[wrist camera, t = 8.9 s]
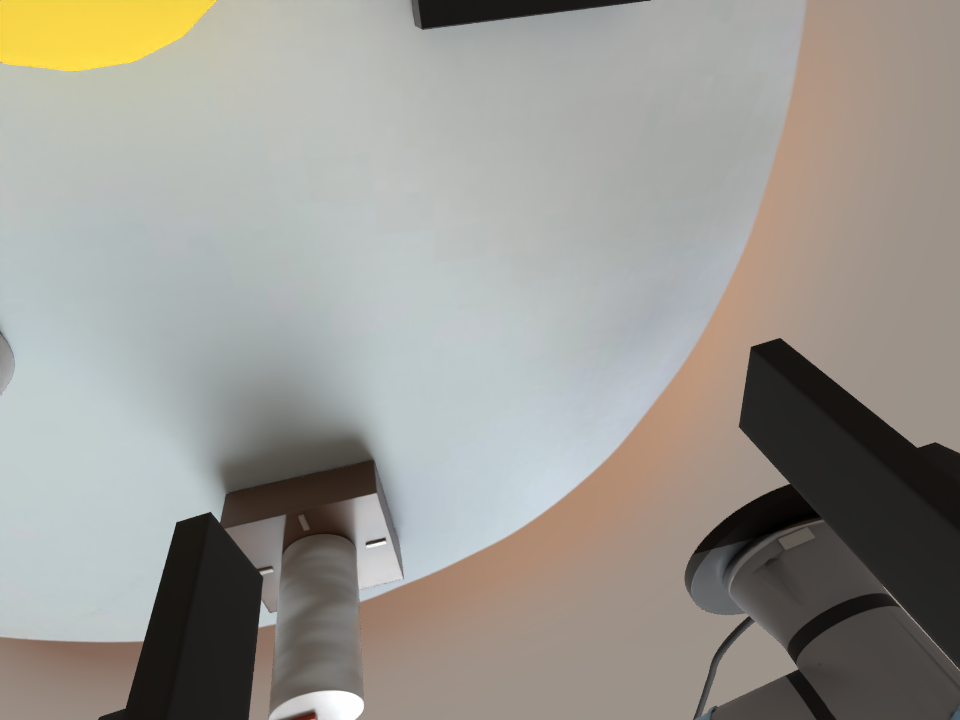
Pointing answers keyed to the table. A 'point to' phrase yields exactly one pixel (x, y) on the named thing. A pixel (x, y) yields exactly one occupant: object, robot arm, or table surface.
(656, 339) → the table surface
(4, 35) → the yellow funnel lid
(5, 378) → the coffee cup
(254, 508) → the panel
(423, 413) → the table surface
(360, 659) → the tap knob
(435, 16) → the black button base
